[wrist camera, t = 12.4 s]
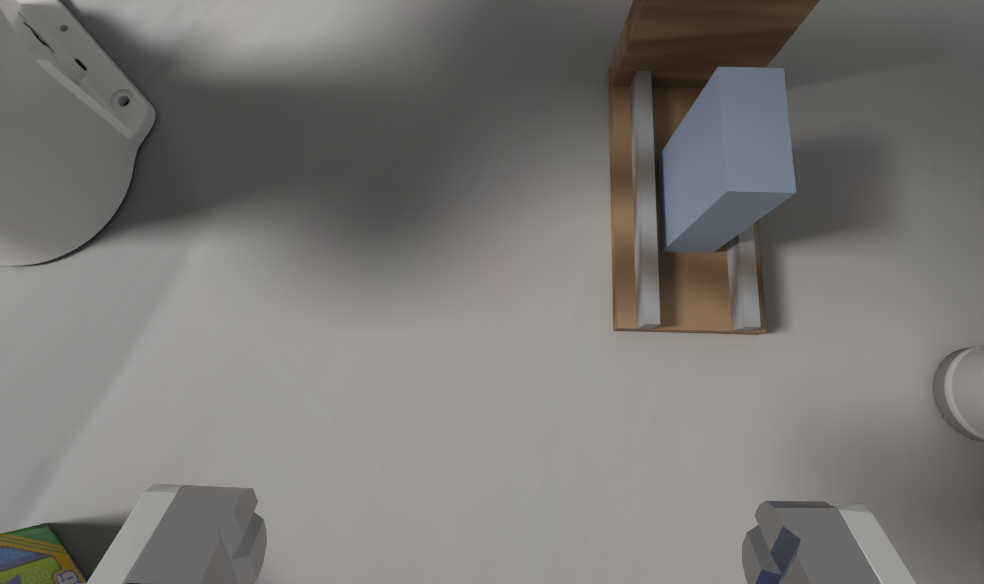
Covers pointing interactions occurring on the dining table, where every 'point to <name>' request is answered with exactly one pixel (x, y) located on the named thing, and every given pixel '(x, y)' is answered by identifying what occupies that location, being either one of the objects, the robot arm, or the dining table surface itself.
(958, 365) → the travel mug
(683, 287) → the brown wooden holder
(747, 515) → the dining table surface
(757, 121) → the pale blue rectangular block
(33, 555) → the chalk box
